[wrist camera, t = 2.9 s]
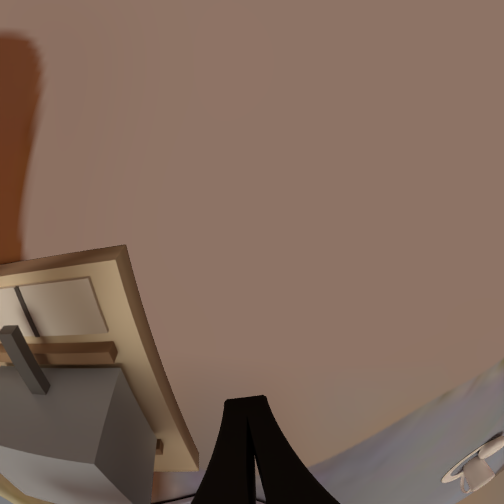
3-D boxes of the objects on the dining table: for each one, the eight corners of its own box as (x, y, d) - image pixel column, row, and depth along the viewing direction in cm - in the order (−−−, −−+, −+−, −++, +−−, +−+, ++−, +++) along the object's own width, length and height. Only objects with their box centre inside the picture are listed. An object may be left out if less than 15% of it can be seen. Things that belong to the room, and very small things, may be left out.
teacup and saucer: (498, 424, 21) (516, 450, 17) (504, 438, 23) (518, 459, 20) (432, 476, 23) (445, 504, 19) (448, 481, 25) (460, 504, 21)
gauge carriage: (94, 303, 9) (44, 400, 5) (157, 438, 11) (149, 518, 8) (-62, 314, 8) (-109, 367, 5) (7, 424, 11) (-16, 479, 7)
